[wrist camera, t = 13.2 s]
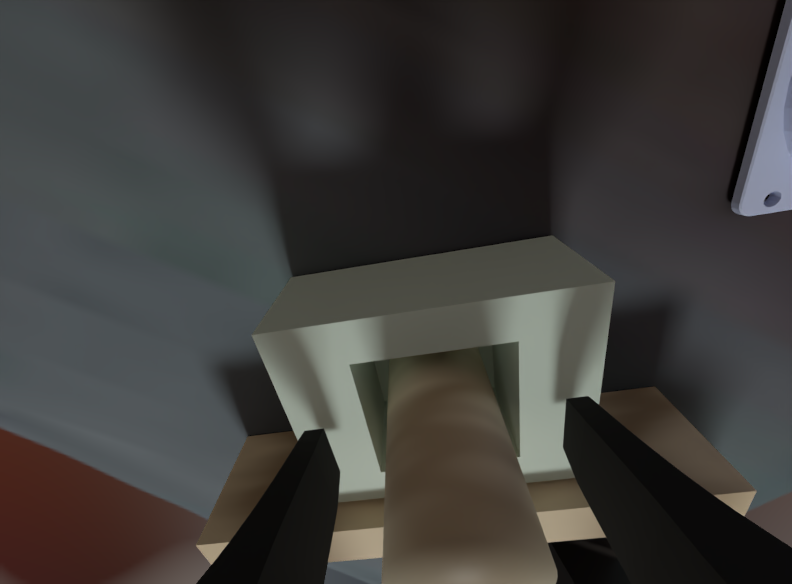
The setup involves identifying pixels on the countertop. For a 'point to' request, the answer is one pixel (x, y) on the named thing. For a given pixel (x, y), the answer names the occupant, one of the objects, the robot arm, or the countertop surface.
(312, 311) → the socket block
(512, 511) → the dowel
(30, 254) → the countertop surface
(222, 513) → the oak wall
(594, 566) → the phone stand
